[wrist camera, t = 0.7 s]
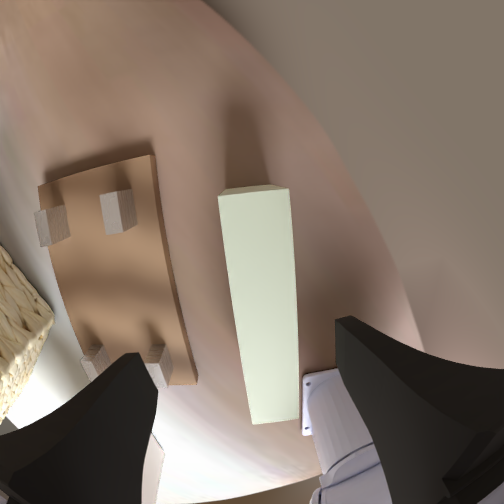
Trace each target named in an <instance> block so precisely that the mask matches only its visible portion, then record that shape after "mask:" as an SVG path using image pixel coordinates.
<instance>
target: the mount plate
mask: <svg viewBox="0 0 504 504" xmlns="http://www.w3.org/2000/svg"><path fill="white" fill-rule="evenodd" d="M128 189H132V191H133V198H134V205H135V211H136V217H137V223H138V225H136V226H134V227H132V228H130V229H129V230H127V231H125V232H122V233H116V234H110V235H106V232H105V226H104V221H103V215H102V209H101V202H100V196H99V195H103V194H107V193H111V192H116V191H122V190H128ZM38 192H39V200H40V207H41V211H42V210H45V209H49V208H53V207H57V206H62V205H65V207H66V213H67V219H68V225H69V230H70V235H71V237H69V238H66V239H64V240H62V241H60V242H57V243H55V244H53V245H49V246H48V249H49V253H50V257H51V261H52V265H53V269H54V273H55V276H56V280H57V283H58V287H59V290H60V293H61V296H62V299H63V302H64V305H65V308H66V311H67V314H68V316H69V319H70V322H71V324H72V327H73V330H74V332H75V335H76V337H77V339H78V342H79V344H80V347H81V349H82V351H83V353H84V355H85V353H86V352H87V351H88V349H89V348H90V347H91V345H92V344H97V345H104V347H105V350H106V352H107V355H108V357H109V359H110V362H111V364H112V363H113V362H115V361H116V360H117V359H118V358H119V357H121V356H122V355H124V354H125V353H134V352H139V353H140V355H141V357H142V360H143V362H144V361H145V358H146V356H147V354H148V352H149V350H150V347H151V345H152V344H166V345H167V348H168V352H169V355H170V358H171V361H172V364H173V367H174V368H173V372H172V375H171V379H170V382H169V385H197V380H198V373H197V369H196V366H195V362H194V359H193V355H192V352H191V348H190V344H189V340H188V336H187V332H186V328H185V324H184V320H183V316H182V312H181V308H180V303H179V299H178V294H177V290H176V285H175V280H174V275H173V270H172V265H171V260H170V255H169V250H168V244H167V238H166V232H165V226H164V220H163V214H162V207H161V200H160V193H159V185H158V177H157V169H156V160H155V156H154V155H145V156H141V157H136V158H132V159H128V160H124V161H119V162H115V163H112V164H108V165H104V166H100V167H97V168H93V169H89V170H86V171H83V172H79V173H76V174H73V175H70V176H66V177H63V178H60V179H57V180H54V181H51V182H49V183H46V184H43V185H40V186H38Z"/></svg>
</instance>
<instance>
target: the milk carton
mask: <svg viewBox="0 0 504 504" xmlns="http://www.w3.org/2000/svg"><path fill="white" fill-rule="evenodd" d="M164 456H165V453H164V451H163V450H162V448H161V447H160V445H159V444H158V442H157V441H156V439H155V438H154V436H153V435H152V433H151V435H150V439H149V443H148V447H147V452H146V456H145V461H144V467H143V479H142V504H156V498H157V492H158V487H159V482H160V476H161V471H162V466H163V461H164Z"/></svg>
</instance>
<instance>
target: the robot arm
mask: <svg viewBox="0 0 504 504" xmlns="http://www.w3.org/2000/svg"><path fill="white" fill-rule="evenodd" d="M335 341H336V365H337V367H338V368H336V369H331V370H326V371H321V372H316V373H310V374H306V375H304V376H303V379H302V435H311V434H312V437H313V441H314V444H315V448H316V452H317V455H318V459H319V463H320V466H321V470H322V473H323V475H322V476H320V477H319V480H320V484H321V487H320V488H317V489H316V490H315V491H314V493H313V495H312V498H311V500H310V504H504V369H493V368H483V367H476V366H470V365H465V364H461V363H456V362H452V361H448V360H445V359H441V358H438V357H435V356H432V355H429V354H427V353H424V352H421V351H419V350H416V349H414V348H412V347H410V346H407V345H405V344H403V343H401V342H399V341H397V340H395V339H393V338H391V337H389V336H387V335H385V334H383V333H381V332H380V331H378V330H376V329H374V328H372V327H371V326H369V325H367V324H365V323H364V322H362V321H360V320H358V319H357V318H355V317H353V316H347V317H343V318H339V319H335ZM308 382H310V383H308ZM157 398H158V389H157V387H156V386H155V384H154V382H153V380H152V378H151V376H150V374H149V372H148V370H147V368H146V366H145V364H144V362H143V360H142V357H141V355H140V353H139V352H134V353H125V354H124V355H122V356H121V357H119V358H118V359H117V360H116V361H115V362H113V363H112V364H111V365H110V366H109V367H108V368H107V369H105V370H104V371H103V372H102V373H101V374H100V375H99V376H98V377H96V378H95V379H94V380H93V381H92V382H91V383H90V384H89V385H87V386H86V387H85V388H84V389H83V390H81V391H80V392H79V393H78V394H76V395H75V396H74V397H73V398H72V399H70V400H69V401H68V402H66V403H65V404H63V405H62V406H61V407H59V408H58V409H56V410H55V411H53V412H52V413H50V414H48V415H47V416H45V417H43V418H41V419H39V420H37V421H35V422H34V423H32V424H30V425H28V426H25V427H23V428H21V429H18V430H16V431H13V432H10V433H7V434H4V435H1V436H0V489H1V490H2V491H3V492H4V493H6V494H7V495H8V496H9V499H8V501H7V500H5V499H4V498H3V497H1V496H0V504H142V479H143V467H144V461H145V456H146V452H147V447H148V443H149V439H150V435H151V431H152V427H153V423H154V419H155V415H156V408H157Z"/></svg>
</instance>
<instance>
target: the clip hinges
mask: <svg viewBox="0 0 504 504" xmlns="http://www.w3.org/2000/svg"><path fill="white" fill-rule="evenodd" d="M99 196H100V202H101V209H102V215H103V221H104V226H105V232H106V235H110V234H116V233H122V232H125V231H127V230H129V229H130V228H132V227H134V226H136V225H138V223H137V217H136V211H135V205H134V198H133V191H132V189H128V190H122V191H116V192H111V193H107V194H103V195H99ZM34 215H35V221H36V226H37V232H38V237H39V241H40V246H41V247H44V246H49V245H53V244H55V243H57V242H60V241H62V240H64V239H66V238H69V237H71V235H70V230H69V225H68V219H67V213H66V207H65V205H62V206H57V207H53V208H49V209H45V210H42V211H39V212H35V213H34ZM80 362H81V364H82V366H83V368H84V370H85V372H86V374H87V376H88V378H89V380H90V382H92V381H93V380H94V379H95V378H96V377H98V376H99V375H100V374H101V373H102V372H103V371H104V370H105V369H107V368H108V367H109V366H110V365H111V362H110V359H109V357H108V355H107V352H106V350H105V347H104V345H97V344H92V345H91V347H90V348H89V349H88V351H87V352H86V353H85V355H84V356H83V358H82V359H81V360H80ZM144 364H145V366H146V368H147V370H148V372H149V374H150V376H151V378H152V380H153V382H154V384H155V386H156V387H157V388H168V386H169V382H170V379H171V375H172V372H173V368H174V367H173V364H172V361H171V358H170V355H169V352H168V348H167V345H166V344H152V345H151V347H150V350H149V352H148V354H147V356H146V358H145V361H144Z"/></svg>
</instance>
